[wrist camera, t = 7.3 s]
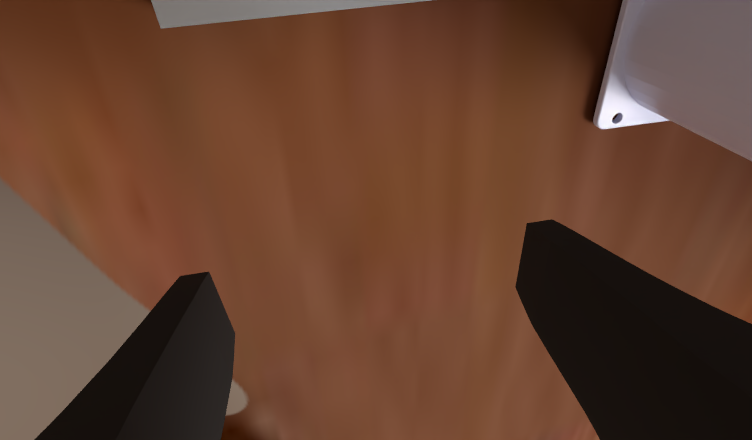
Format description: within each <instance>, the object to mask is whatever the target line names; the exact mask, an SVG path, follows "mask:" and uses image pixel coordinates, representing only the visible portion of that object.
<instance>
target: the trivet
mask: <svg viewBox="0 0 752 440" xmlns="http://www.w3.org/2000/svg"><path fill="white" fill-rule="evenodd" d="M420 1H430V0H151V2H152V4H153V7H154V10H155V13H156V16H157V19H158V22H159V24H160V27H161V28H171V27H181V26H190V25H200V24H209V23H219V22H229V21H238V20H248V19H257V18H267V17H277V16H286V15H296V14H305V13H315V12H324V11H334V10H344V9H353V8H363V7H372V6H382V5H392V4H401V3H411V2H420Z"/></svg>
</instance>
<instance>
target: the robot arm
mask: <svg viewBox="0 0 752 440" xmlns="http://www.w3.org/2000/svg"><path fill="white" fill-rule="evenodd" d="M616 114H618V115H617V117H616V118H615V119H614V120H612V118H613V117H614V115H616ZM669 120H670V121H672V122H674V123H676V124H678V125H680V126H682V127H684V128H686V129H688V130H690V131H692V132H694V133H696V134H698V135H700V136H702V137H704V138H706V139H708V140H710V141H712V142H714V143H716V144H718V145H720V146H722V147H724V148H726V149H728V150H730V151H732V152H734V153H736V154H738V155H740V156H742V157H744V158H746V159H748V160H750V161H752V0H623V2H622V6H621V10H620V14H619V18H618V22H617V26H616V30H615V34H614V38H613V42H612V46H611V50H610V54H609V58H608V62H607V66H606V70H605V74H604V78H603V82H602V86H601V90H600V94H599V98H598V102H597V106H596V110H595V114H594V118H593V123H594V125H595V126H597V127H598V128H600V129H610V128H617V127H625V126H632V125H639V124H647V123H654V122H662V121H669ZM516 289H517V292H518V294H519V296H520V299H521V301H522V304H523V306H524V308H525V310H526V313H527V315H528V317H529V319H530V321H531V323H532V325H533V327H534V329H535V331H536V332H537V334H538V336H539V337H540V339H541V341H542V342H543V344H544V346H545V347H546V349H547V351H548V352H549V354H550V356H551V357H552V359H553V361H554V362H555V364H556V366H557V367H558V369H559V370H560V372H561V374H562V375H563V377H564V379H565V380H566V382H567V384H568V385H569V387H570V388H571V390H572V392H573V393H574V395H575V397H576V398H577V400H578V402H579V403H580V405H581V406H582V408H583V410H584V411H585V413H586V415H587V417H588V418H589V420H590V422H591V424H592V426H593V427H594V429H595V431H596V433H597V435H598V437H599V439H600V440H752V324H750V323H748V322H746V321H744V320H741V319H739V318H737V317H735V316H732V315H730V314H728V313H726V312H724V311H722V310H719V309H717V308H715V307H713V306H711V305H709V304H707V303H705V302H703V301H701V300H699V299H697V298H695V297H693V296H691V295H689V294H687V293H685V292H683V291H681V290H679V289H677V288H675V287H673V286H671V285H669V284H668V283H666V282H664V281H662V280H660V279H658V278H656V277H654V276H653V275H651V274H649V273H647V272H645V271H643V270H642V269H640V268H638V267H636V266H634V265H633V264H631V263H629V262H627V261H625V260H624V259H622V258H620V257H618V256H617V255H615V254H613V253H611V252H610V251H608V250H606V249H604V248H603V247H601V246H599V245H598V244H596V243H594V242H592V241H591V240H589V239H587V238H585V237H584V236H582V235H580V234H578V233H577V232H575V231H573V230H571V229H569V228H568V227H566V226H564V225H562V224H560V223H558V222H556V221H554V220H546V221H539V222H533V223H527V226H526V231H525V237H524V243H523V248H522V254H521V259H520V265H519V271H518V276H517V282H516ZM234 344H235V332H234V330H233V327H232V325H231V323H230V320H229V318H228V315H227V313H226V311H225V308H224V306H223V304H222V301H221V299H220V297H219V294H218V292H217V289H216V287H215V285H214V282H213V280H212V278H211V275H210V273H209V272H204V273H197V274H191V275H184V276H180V277H179V278H178V279H177V280H176V282H175V283H174V284H173V285H172V286H171V287H170V289H169V290H168V291H167V292H166V293H165V295H164V296H163V297H162V298H161V300H160V301H159V302H158V303H157V304H156V306H155V307H154V308H153V309H152V310H151V312H150V313H149V314H148V315H147V317H146V318H145V319H144V320H143V322H142V323H141V324H140V325H139V326H138V327H137V329H136V330H135V331H134V332H133V333H132V334H131V336H130V337H129V338H128V339H127V340H126V342H125V343H124V344H123V345H122V346H121V347H120V349H119V350H118V351H117V352H116V353H115V354H114V356H113V357H112V358H111V359H110V360H109V361H108V363H107V364H106V365H105V366H104V367H103V368H102V369H101V370H100V371H99V372H98V373H97V374H96V375H95V377H94V378H93V379H92V380H91V381H90V382H89V383H88V384H87V385H86V386H85V387H84V389H83V390H82V391H81V392H80V393H79V394H78V395H77V396H76V397H75V398H74V399H73V401H72V402H71V403H70V404H69V405H68V406H67V407H66V408H65V409H64V410H63V411H62V412H61V413H60V414H59V415H58V416H57V417H56V419H55V420H54V421H53V422H52V423H51V424H50V425H49V426H48V427H47V428H46V429H45V430H44V431H43V432H42V433H41V434H40V435H39V436H38V437H37V438H36V439H35V440H221V435H222V430H223V425H224V420H225V415H226V409H227V404H228V398H229V393H230V388H231V382H232V375H233V362H234Z"/></svg>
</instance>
